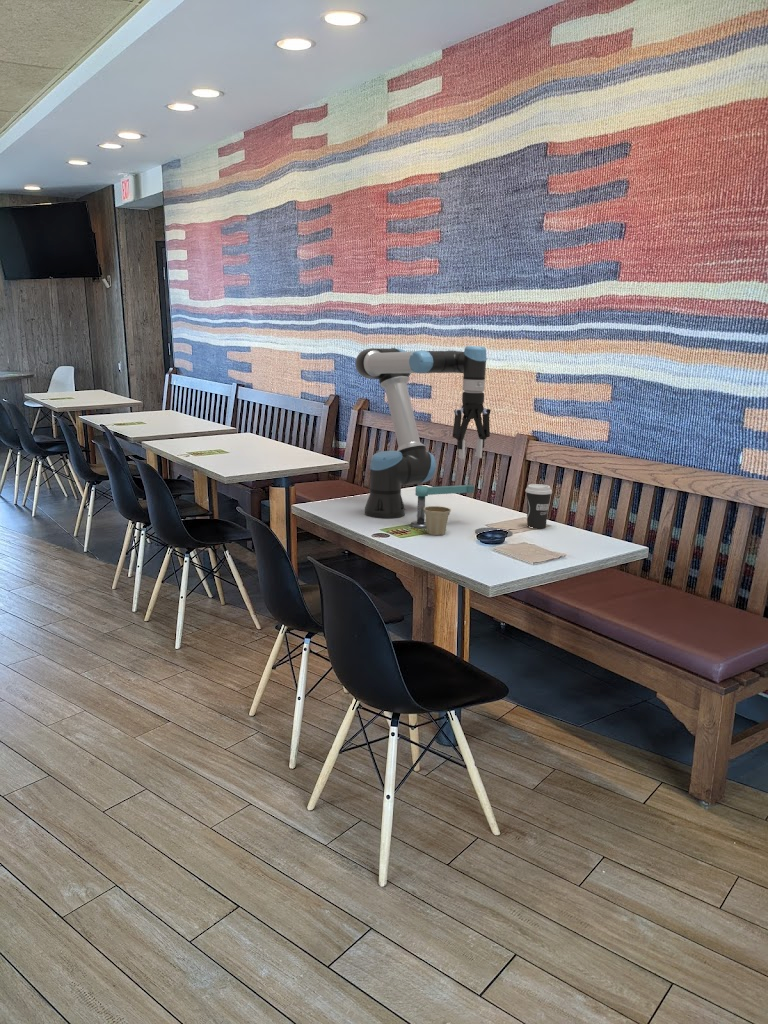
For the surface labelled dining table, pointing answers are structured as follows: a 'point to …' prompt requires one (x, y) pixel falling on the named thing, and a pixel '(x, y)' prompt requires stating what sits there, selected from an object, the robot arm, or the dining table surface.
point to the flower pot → (436, 519)
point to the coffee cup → (537, 505)
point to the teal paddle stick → (443, 490)
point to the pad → (491, 529)
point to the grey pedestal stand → (420, 514)
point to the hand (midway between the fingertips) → (470, 457)
